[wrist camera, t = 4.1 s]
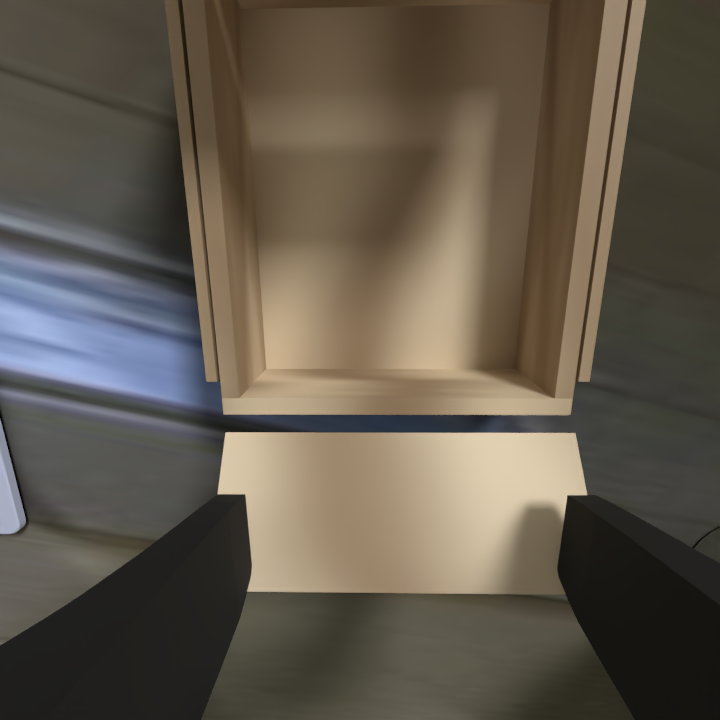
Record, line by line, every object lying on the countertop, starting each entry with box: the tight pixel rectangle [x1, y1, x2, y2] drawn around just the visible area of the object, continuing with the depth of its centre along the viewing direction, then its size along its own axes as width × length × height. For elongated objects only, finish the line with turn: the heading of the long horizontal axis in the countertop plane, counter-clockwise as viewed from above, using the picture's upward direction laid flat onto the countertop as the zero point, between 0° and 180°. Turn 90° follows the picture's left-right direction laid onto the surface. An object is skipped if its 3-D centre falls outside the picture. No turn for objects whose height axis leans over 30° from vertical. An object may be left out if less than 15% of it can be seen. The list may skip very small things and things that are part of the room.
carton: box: [165, 0, 646, 415], centre depth 11 cm, size 11×12×4 cm
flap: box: [218, 432, 587, 595], centre depth 10 cm, size 9×4×1 cm
